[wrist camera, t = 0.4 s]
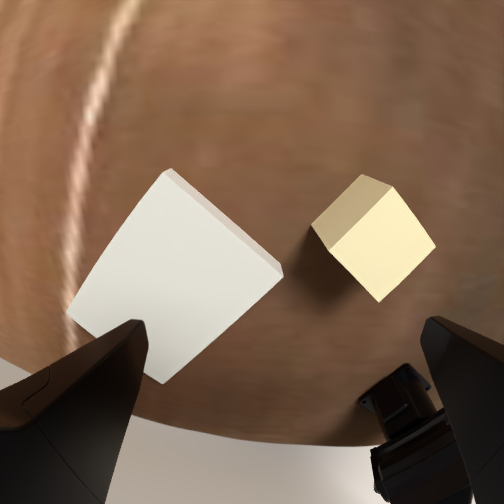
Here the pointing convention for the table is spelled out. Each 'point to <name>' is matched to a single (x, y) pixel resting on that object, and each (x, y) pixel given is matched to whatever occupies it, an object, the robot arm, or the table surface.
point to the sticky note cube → (373, 235)
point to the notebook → (175, 276)
